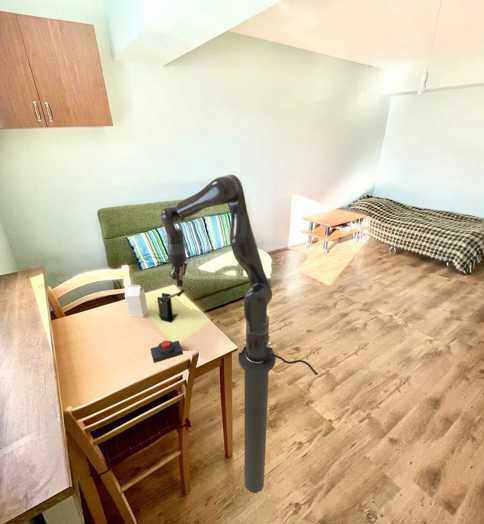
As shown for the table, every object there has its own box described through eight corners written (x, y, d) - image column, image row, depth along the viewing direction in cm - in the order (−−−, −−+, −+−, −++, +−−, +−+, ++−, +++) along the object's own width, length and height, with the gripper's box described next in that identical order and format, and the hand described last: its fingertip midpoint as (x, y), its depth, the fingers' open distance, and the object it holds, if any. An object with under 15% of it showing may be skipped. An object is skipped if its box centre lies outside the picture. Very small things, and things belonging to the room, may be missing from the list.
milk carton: (144, 320, 139) (137, 288, 130) (130, 320, 139) (122, 289, 130) (148, 311, 145) (142, 281, 136) (134, 312, 145) (127, 281, 136)
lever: (185, 291, 134) (183, 287, 133) (180, 296, 129) (178, 292, 129) (166, 299, 140) (163, 295, 139) (160, 304, 135) (158, 300, 135)
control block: (178, 344, 122) (178, 337, 120) (183, 354, 116) (182, 346, 114) (150, 352, 117) (149, 345, 116) (153, 363, 111) (152, 355, 110)
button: (169, 342, 117) (168, 339, 117) (171, 347, 114) (170, 344, 114) (160, 345, 116) (160, 341, 115) (162, 350, 113) (162, 347, 112)
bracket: (179, 315, 143) (177, 293, 138) (171, 324, 136) (168, 301, 131) (162, 312, 146) (159, 290, 141) (153, 320, 139) (150, 298, 134)
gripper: (176, 257, 117) (180, 293, 123) (191, 247, 128) (193, 280, 135) (161, 255, 119) (165, 291, 126) (176, 245, 130) (179, 278, 137)
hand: (180, 285), depth 130 cm, fingers closed
